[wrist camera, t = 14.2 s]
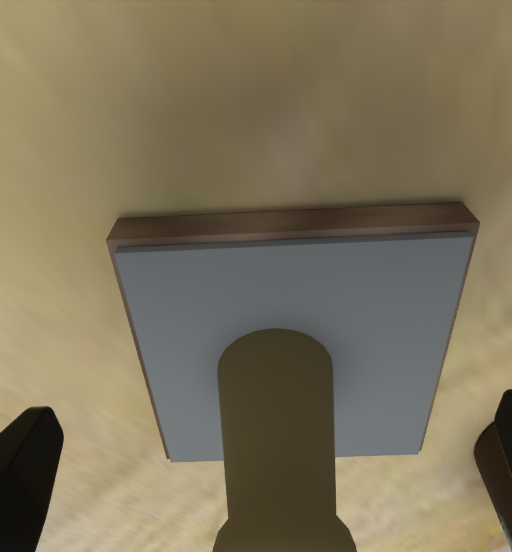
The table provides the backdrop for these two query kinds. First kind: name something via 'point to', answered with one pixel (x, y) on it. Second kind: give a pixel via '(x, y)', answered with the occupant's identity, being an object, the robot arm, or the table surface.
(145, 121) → the table surface
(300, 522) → the brown rounded upright piece
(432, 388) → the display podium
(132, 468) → the table surface
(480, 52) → the table surface
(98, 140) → the table surface
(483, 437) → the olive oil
